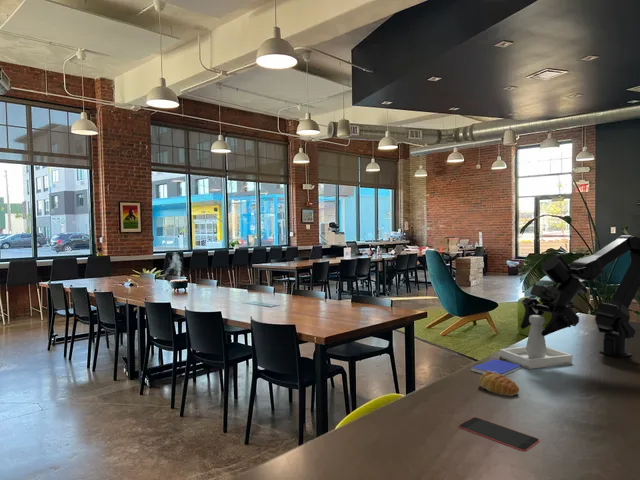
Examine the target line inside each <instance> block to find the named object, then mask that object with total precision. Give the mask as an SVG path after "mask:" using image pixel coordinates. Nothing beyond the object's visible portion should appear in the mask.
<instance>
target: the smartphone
mask: <svg viewBox="0 0 640 480" xmlns="http://www.w3.org/2000/svg"><path fill="white" fill-rule="evenodd" d="M457 427H458V428H459V429H462V430H464V431H468V432H469V433H472V434H474V435H477V436H480V437H482V438H486V439H488V440H490V441H493V442H497V443H498V444H502V445H505V446H507V447H510V448H512V447H513V448H512V449H516V450H518V451H520V450H521V452H527V451H529V450H531V449H532V448H533V447H535V446H536V445H537V444H539V443H540V439H539V438H538V437H535V436H533V435H529V434H526V433H523V432H520V431H517V430H514V429H511V428H508V427H506V426H503V425H500V424H497V423H494V422H491V421H489V420H485V419H482V418H479V417H471V418H469V419H467V420H465V421H464V422H461V423H460V424H458V426H457ZM528 449H529V450H528Z"/></svg>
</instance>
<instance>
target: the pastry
mask: <svg viewBox="0 0 640 480" xmlns="http://www.w3.org/2000/svg"><path fill="white" fill-rule="evenodd" d="M478 384H479V385H480V387H481V388H482V389H483V390H484V389H485V390H486V391H488V392H491V393H493V394H498V395H500V396H509V397H513V396H516V395H518V393H519V392H520V388H519V386H518V385H517V384H516V382H514V381H513V380H512V379H510V378H508V377H507V375H504V376H503V375H500V374H498V373H497V374H494V373H493V372H490V371H487V372H485V373H484V374H481V376H480V378H479V381H478Z"/></svg>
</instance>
